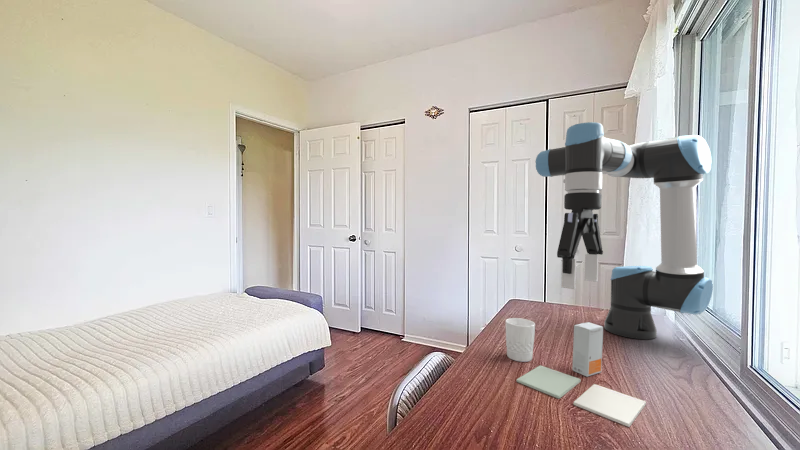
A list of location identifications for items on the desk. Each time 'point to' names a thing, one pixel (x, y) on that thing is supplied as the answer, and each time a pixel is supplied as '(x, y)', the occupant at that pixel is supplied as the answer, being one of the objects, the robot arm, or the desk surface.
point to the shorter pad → (549, 381)
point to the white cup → (520, 339)
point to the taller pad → (610, 404)
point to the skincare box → (587, 349)
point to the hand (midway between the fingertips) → (580, 284)
